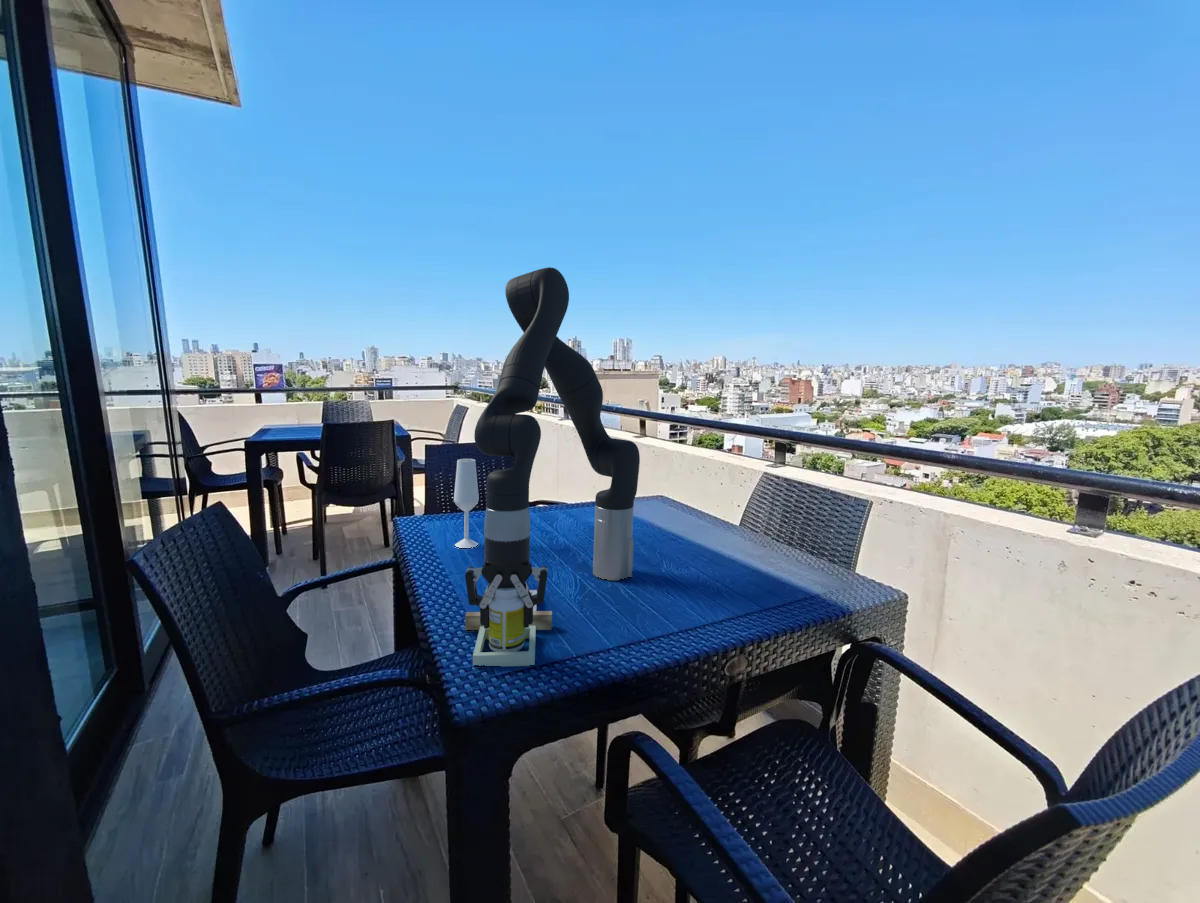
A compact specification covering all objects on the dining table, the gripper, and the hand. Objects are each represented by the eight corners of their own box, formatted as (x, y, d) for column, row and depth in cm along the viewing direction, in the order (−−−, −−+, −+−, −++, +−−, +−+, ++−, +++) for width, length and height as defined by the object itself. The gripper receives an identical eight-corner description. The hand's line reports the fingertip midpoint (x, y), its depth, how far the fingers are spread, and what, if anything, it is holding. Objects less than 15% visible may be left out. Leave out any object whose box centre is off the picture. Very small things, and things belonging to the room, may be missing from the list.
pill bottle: (526, 636, 93) (527, 578, 92) (522, 655, 87) (523, 592, 86) (491, 636, 93) (492, 577, 91) (485, 654, 87) (485, 592, 85)
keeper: (535, 635, 96) (535, 625, 95) (534, 665, 86) (534, 654, 85) (480, 636, 94) (480, 626, 94) (472, 667, 85) (472, 655, 84)
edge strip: (551, 625, 100) (551, 610, 99) (551, 629, 98) (552, 614, 98) (466, 627, 98) (466, 612, 97) (465, 631, 96) (465, 616, 96)
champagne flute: (472, 550, 141) (472, 462, 137) (449, 547, 142) (449, 461, 139) (482, 542, 147) (483, 459, 144) (460, 540, 148) (460, 457, 145)
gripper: (550, 526, 92) (548, 615, 94) (467, 525, 90) (467, 616, 92) (550, 539, 84) (548, 636, 87) (460, 539, 83) (460, 637, 85)
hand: (506, 625), depth 90 cm, fingers closed on pill bottle, 6 cm apart
